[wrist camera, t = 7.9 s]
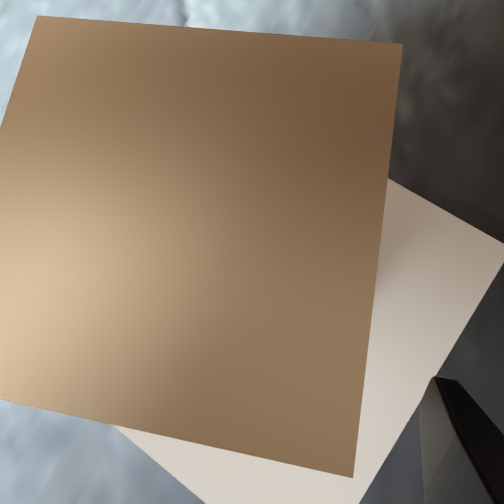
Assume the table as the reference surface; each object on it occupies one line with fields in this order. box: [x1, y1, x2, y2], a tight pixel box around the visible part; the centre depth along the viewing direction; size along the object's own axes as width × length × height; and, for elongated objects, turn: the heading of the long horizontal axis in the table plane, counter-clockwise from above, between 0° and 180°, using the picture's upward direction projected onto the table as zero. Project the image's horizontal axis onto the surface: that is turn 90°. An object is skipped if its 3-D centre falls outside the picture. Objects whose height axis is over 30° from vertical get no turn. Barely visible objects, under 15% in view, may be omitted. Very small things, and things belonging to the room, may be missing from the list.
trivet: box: [114, 179, 504, 504], centre depth 16 cm, size 14×14×1 cm
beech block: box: [0, 16, 403, 478], centre depth 10 cm, size 5×5×11 cm
